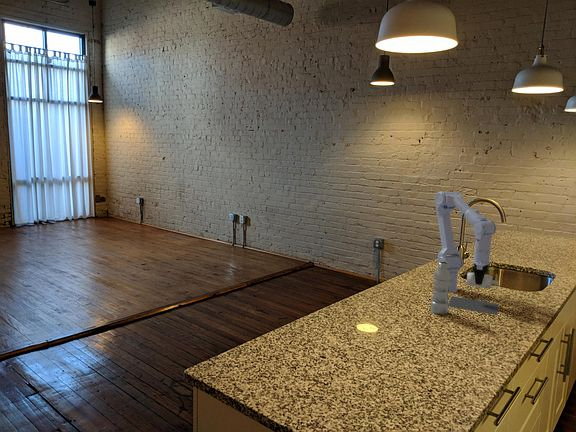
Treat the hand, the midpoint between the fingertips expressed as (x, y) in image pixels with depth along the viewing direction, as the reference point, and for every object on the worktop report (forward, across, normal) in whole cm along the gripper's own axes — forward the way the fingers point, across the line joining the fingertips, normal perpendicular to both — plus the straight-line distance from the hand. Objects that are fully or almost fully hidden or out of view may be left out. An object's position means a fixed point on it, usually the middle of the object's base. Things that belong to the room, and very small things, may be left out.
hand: (478, 282), depth 181 cm
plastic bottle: (+9, -20, +12) cm, 25 cm away
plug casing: (+1, 0, -1) cm, 2 cm away
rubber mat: (+9, -4, +1) cm, 10 cm away
